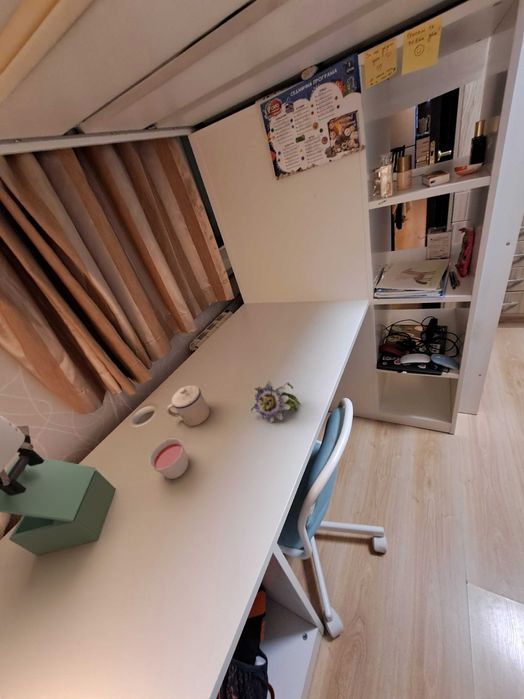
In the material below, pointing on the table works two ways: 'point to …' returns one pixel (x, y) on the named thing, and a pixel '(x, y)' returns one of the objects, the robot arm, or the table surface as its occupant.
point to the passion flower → (273, 401)
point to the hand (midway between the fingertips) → (28, 477)
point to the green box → (67, 522)
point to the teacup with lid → (189, 405)
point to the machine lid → (47, 488)
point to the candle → (169, 458)
